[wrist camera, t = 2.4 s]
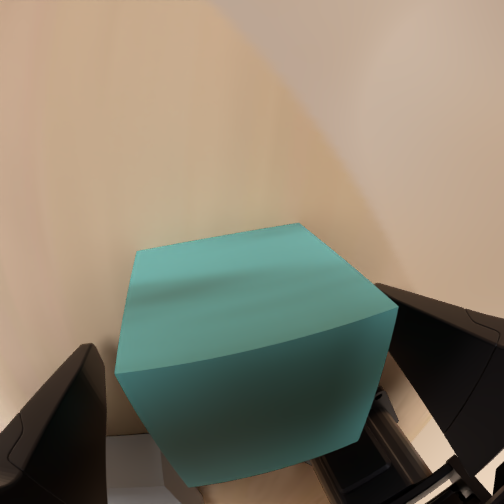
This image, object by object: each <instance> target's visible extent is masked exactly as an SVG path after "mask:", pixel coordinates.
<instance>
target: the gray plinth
mask: <svg viewBox="0 0 504 504" xmlns="http://www.w3.org/2000/svg"><path fill="white" fill-rule="evenodd" d="M106 481H107V499H108V504H204V500H203V496H202V495H201V493H200V492H199V491H198V489H197V488H196V487H190V488H189V487H188V486H187V485H186V484H185V482H184V481H183V480H182V479H181V477H180V476H179V475H178V473H177V472H176V471H175V469H174V468H173V467H172V465H171V464H170V463H169V461H168V460H167V459H166V457H165V456H164V454H163V453H162V451H161V450H160V449H159V447H158V446H157V444H156V443H155V441H154V440H153V438H152V437H151V435H150V434H149V433H148V434H137V435H125V436H107V437H106Z"/></svg>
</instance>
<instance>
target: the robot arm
mask: <svg viewBox="0 0 504 504" xmlns="http://www.w3.org/2000/svg"><path fill="white" fill-rule="evenodd" d="M373 285H375V286H376V287H377V288H378V289H379V290H380V291H382V292H383V293H384V294H385V295H386V296H387V297H388V298H390V299H391V300H392V301H393V302H394V303H395V304H396V305H397V306H399V307H398V312H397V317H396V321H395V325H394V330H393V334H392V338H391V342H390V346H389V349H388V351H389V353H390V354H391V355H392V357H393V358H394V360H395V361H396V363H397V364H398V365H399V367H400V368H401V370H402V371H403V373H404V374H405V376H406V377H407V379H408V380H409V382H410V383H411V385H412V386H413V388H414V389H415V390H416V392H417V393H418V395H419V396H420V398H421V400H422V401H423V403H424V404H425V406H426V407H427V409H428V410H429V412H430V413H431V415H432V416H433V418H434V420H435V421H436V423H437V424H438V426H439V427H440V429H441V431H442V432H443V433H444V436H445V437H446V439H447V440H448V442H449V444H450V445H451V447H452V449H453V450H454V452H455V453H456V455H457V456H456V455H453V456H452V457H451V458H449V459H448V460H447V461H446V464H444V465H443V466H442V467H441V468H440V469H438V470H437V471H435V472H434V473H432V472H431V471H430V469H429V468H428V466H427V465H426V464H425V462H424V461H423V459H422V458H421V457H420V455H419V454H418V453H417V451H416V450H415V448H414V447H413V446H412V444H411V443H410V441H409V440H408V439H407V437H406V436H405V434H404V433H403V432H402V430H401V429H400V428H399V426H398V425H397V423H398V421H399V420H398V418H397V416H396V413H395V411H394V409H393V406H392V404H391V402H390V400H389V397H388V395H387V393H386V391H385V390H384V389H383V387H382V386H378V387H377V390H376V393H375V396H374V399H373V402H372V405H371V408H370V411H369V414H368V416H367V419H366V422H365V425H364V427H363V430H362V432H361V435H360V438H359V440H358V441H357V442H355V443H352V444H350V445H347V446H345V447H343V448H340V449H338V450H335V451H332V452H330V453H327V454H324V455H322V456H319V457H316V458H313V459H310V460H307V461H304V462H305V463H307V464H309V465H311V466H313V468H314V470H315V473H316V475H317V477H318V479H319V481H320V483H321V485H322V487H323V489H324V491H325V493H326V495H327V497H328V499H329V501H330V504H414V503H416V502H417V501H419V500H420V499H422V498H423V497H425V496H426V495H428V494H429V493H431V492H432V491H433V490H435V489H436V488H438V487H439V486H440V485H442V484H443V483H444V482H446V481H447V480H448V479H450V481H451V482H452V485H450V486H449V487H448V488H446V489H445V490H444V491H442V492H441V493H440V494H438V495H437V496H435V497H434V498H433V499H431V500H430V501H428V502H427V503H425V504H504V462H503V463H502V464H501V465H500V466H499V467H498V468H497V469H496V474H495V482H494V489H493V496H492V495H491V494H490V493H489V492H488V491H487V490H486V489H485V488H484V486H483V485H482V484H481V483H480V482H479V481H478V479H477V478H476V477H475V475H476V474H477V473H478V472H479V471H480V470H482V469H483V468H484V467H485V466H486V465H487V464H488V463H489V462H491V461H492V460H493V459H494V458H495V457H496V456H497V455H498V454H499V453H500V452H501V451H502V450H503V449H504V319H503V318H498V317H495V316H490V315H486V314H482V313H479V312H476V311H472V310H469V309H464V308H462V307H458V306H455V305H452V304H448V303H445V302H442V301H438V300H435V299H432V298H428V297H425V296H422V295H418V294H415V293H411V292H408V291H405V290H401V289H398V288H394V287H391V286H388V285H384V284H381V283H375V284H373ZM106 420H107V404H106V386H105V366H104V363H103V361H102V359H101V357H100V355H99V353H98V351H97V348H96V347H95V345H94V344H93V343H88V344H82V345H80V346H79V347H78V348H77V349H76V350H75V351H74V352H73V354H72V355H71V356H70V357H69V358H68V359H67V360H66V361H65V362H64V363H63V364H62V365H61V366H60V367H59V368H58V369H57V371H56V372H55V373H54V374H53V375H52V376H51V377H50V378H49V379H48V380H47V381H46V382H45V384H44V385H43V386H42V387H41V388H40V389H39V390H38V391H37V392H36V393H35V395H34V396H33V397H32V398H31V399H30V400H29V401H28V402H27V404H26V405H25V406H24V407H23V408H22V409H21V410H20V413H18V414H17V415H16V416H15V417H14V419H13V420H12V421H11V422H10V423H9V424H8V425H7V427H6V428H5V429H4V430H3V431H2V432H1V433H0V504H108V499H107V481H106Z"/></svg>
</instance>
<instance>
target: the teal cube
mask: <svg viewBox="0 0 504 504" xmlns="http://www.w3.org/2000/svg"><path fill="white" fill-rule="evenodd" d="M398 307H399V306H397V305H396V304H395V303H394V302H393V301H392V300H391V299H390V298H388V297H387V296H386V295H385V294H384V293H383V292H382V291H380V290H379V289H378V288H377V287H376V286H375V285H373V284H372V283H371V282H370V281H369V280H368V279H366V278H365V277H364V276H363V275H362V274H361V273H359V272H358V271H357V270H356V269H355V268H354V267H352V266H351V265H350V264H349V263H348V262H346V261H345V260H344V259H343V258H342V257H340V256H339V255H338V254H337V253H336V252H334V251H333V250H332V249H331V248H329V247H328V246H327V245H326V244H325V243H323V242H322V241H321V240H320V239H318V238H317V237H316V236H315V235H313V234H312V233H311V232H310V231H308V230H307V229H306V228H305V227H303V226H302V225H301V224H300V223H295V224H289V225H283V226H276V227H270V228H264V229H258V230H252V231H247V232H241V233H235V234H229V235H223V236H218V237H212V238H206V239H201V240H195V241H189V242H184V243H178V244H173V245H167V246H162V247H157V248H151V249H146V250H141V251H137V253H136V257H135V261H134V266H133V270H132V274H131V279H130V284H129V289H128V293H127V298H126V304H125V309H124V314H123V320H122V326H121V332H120V338H119V344H118V351H117V358H116V366H115V373H114V374H115V376H116V378H117V380H118V382H119V383H120V385H121V387H122V389H123V391H124V392H125V394H126V396H127V398H128V399H129V401H130V403H131V405H132V406H133V408H134V410H135V411H136V413H137V415H138V416H139V418H140V420H141V421H142V423H143V424H144V426H145V428H146V429H147V431H148V432H149V434H150V435H151V437H152V438H153V440H154V441H155V443H156V444H157V446H158V447H159V449H160V450H161V451H162V453H163V454H164V456H165V457H166V459H167V460H168V461H169V463H170V464H171V465H172V467H173V468H174V469H175V471H176V472H177V473H178V475H179V476H180V477H181V479H182V480H183V481H184V482H185V484H186V485H187V486H188V487H189V488H190V487H197V486H204V485H211V484H216V483H222V482H227V481H233V480H237V479H242V478H247V477H251V476H255V475H259V474H263V473H267V472H271V471H275V470H278V469H282V468H285V467H288V466H292V465H295V464H298V463H301V462H304V461H307V460H310V459H313V458H316V457H319V456H322V455H324V454H327V453H330V452H332V451H335V450H338V449H340V448H343V447H345V446H347V445H350V444H352V443H355V442H357V441H358V440H359V438H360V435H361V432H362V430H363V427H364V425H365V422H366V419H367V416H368V414H369V411H370V408H371V405H372V402H373V399H374V396H375V393H376V390H377V387H378V384H379V381H380V378H381V374H382V371H383V367H384V364H385V360H386V357H387V353H388V349H389V346H390V342H391V338H392V334H393V330H394V325H395V321H396V317H397V312H398Z"/></svg>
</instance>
